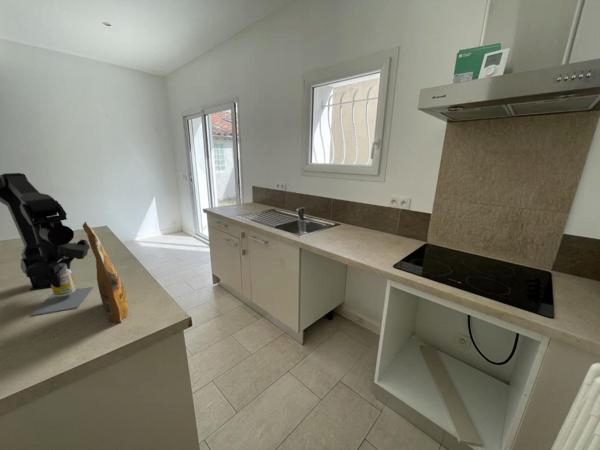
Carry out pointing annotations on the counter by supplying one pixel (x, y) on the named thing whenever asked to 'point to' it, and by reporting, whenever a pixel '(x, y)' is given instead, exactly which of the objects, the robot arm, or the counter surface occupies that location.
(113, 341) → the counter surface
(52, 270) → the robot arm
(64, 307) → the mat
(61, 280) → the supplement bottle
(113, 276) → the pancake mix bag
